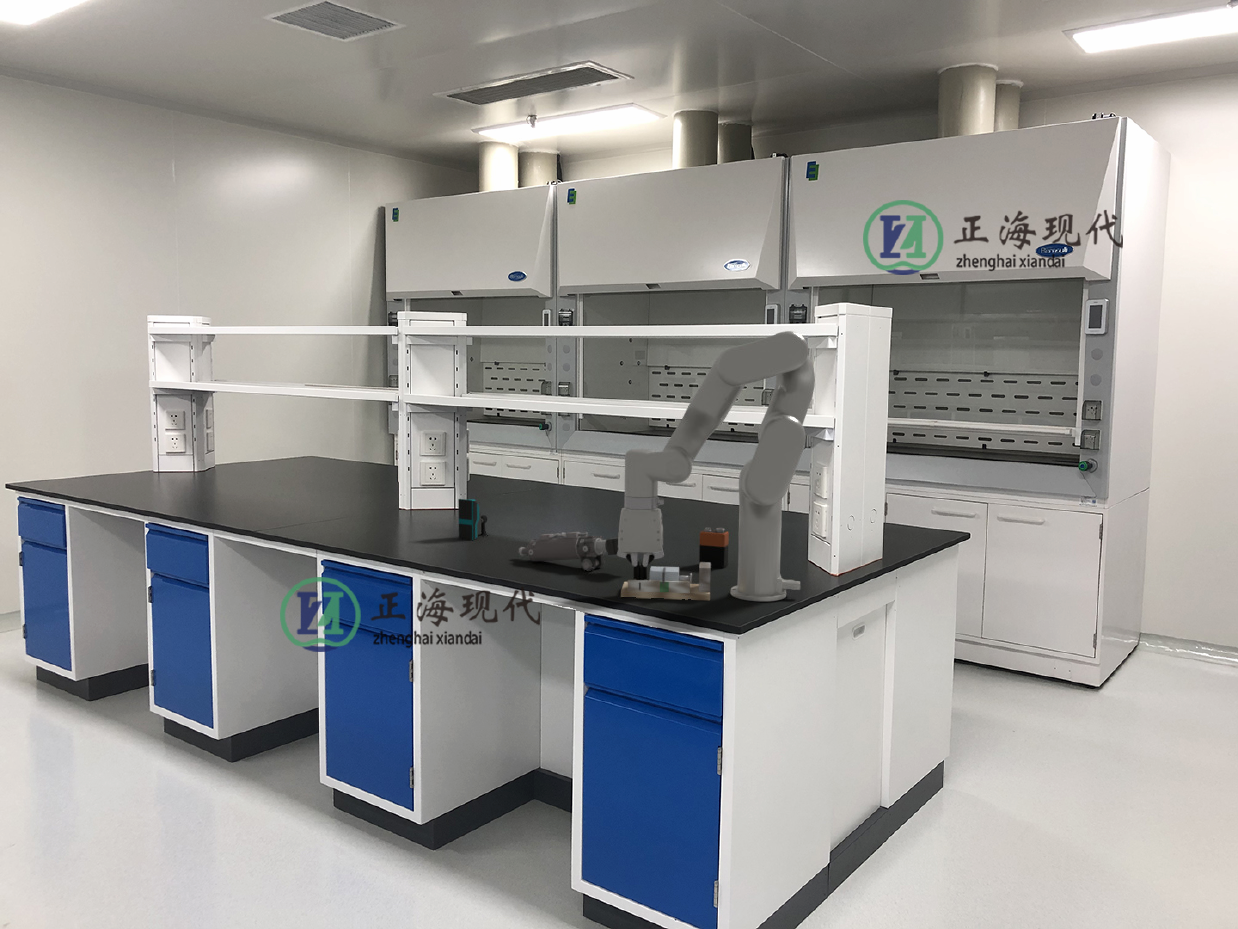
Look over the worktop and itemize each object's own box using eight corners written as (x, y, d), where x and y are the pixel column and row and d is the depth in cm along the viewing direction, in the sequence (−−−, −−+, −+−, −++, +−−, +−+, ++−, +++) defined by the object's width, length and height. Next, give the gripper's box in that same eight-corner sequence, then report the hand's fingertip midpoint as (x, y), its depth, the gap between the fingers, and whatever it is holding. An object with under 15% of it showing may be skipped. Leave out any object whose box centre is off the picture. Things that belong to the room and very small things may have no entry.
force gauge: (691, 584, 216) (692, 565, 216) (691, 592, 208) (691, 573, 208) (650, 583, 217) (651, 564, 216) (648, 591, 209) (649, 572, 209)
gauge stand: (709, 590, 218) (710, 561, 217) (709, 600, 209) (710, 569, 208) (624, 587, 220) (624, 558, 219) (620, 597, 211) (621, 567, 210)
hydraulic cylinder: (633, 569, 229) (628, 529, 229) (514, 575, 248) (509, 538, 247) (648, 564, 235) (643, 525, 235) (530, 570, 254) (525, 533, 254)
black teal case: (493, 496, 282) (472, 500, 274) (493, 535, 284) (472, 541, 275) (478, 494, 285) (457, 498, 276) (478, 533, 286) (457, 539, 278)
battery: (723, 568, 241) (724, 530, 240) (698, 566, 244) (699, 528, 243) (728, 565, 245) (729, 527, 244) (703, 563, 248) (704, 525, 247)
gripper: (674, 501, 216) (673, 579, 218) (610, 500, 217) (609, 577, 219) (673, 506, 208) (672, 587, 210) (606, 505, 210) (606, 585, 212)
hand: (640, 582), depth 215 cm, fingers closed
